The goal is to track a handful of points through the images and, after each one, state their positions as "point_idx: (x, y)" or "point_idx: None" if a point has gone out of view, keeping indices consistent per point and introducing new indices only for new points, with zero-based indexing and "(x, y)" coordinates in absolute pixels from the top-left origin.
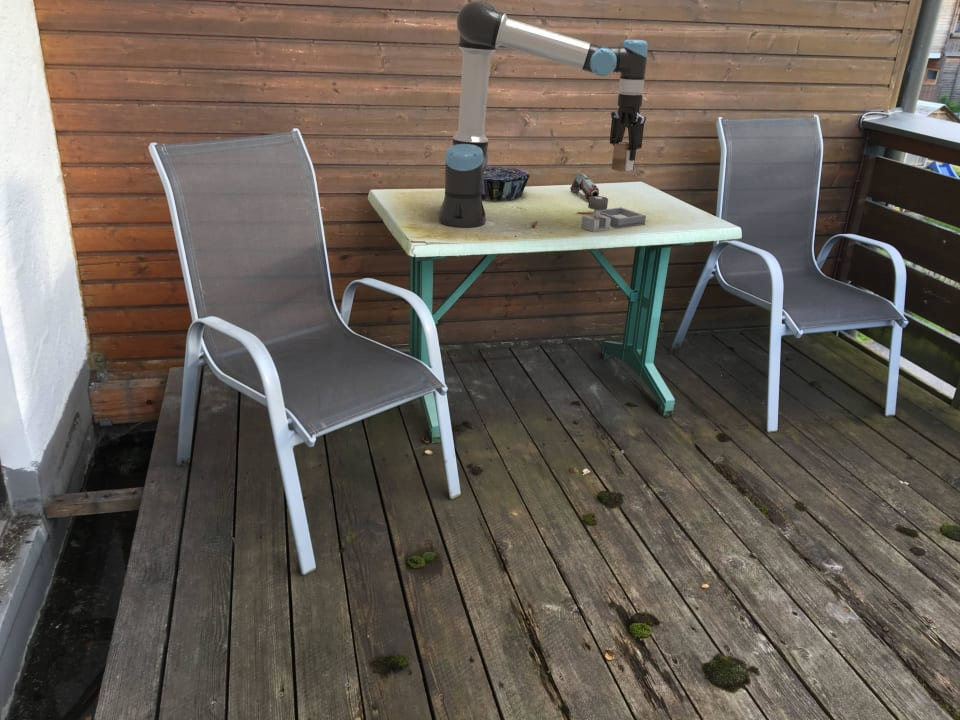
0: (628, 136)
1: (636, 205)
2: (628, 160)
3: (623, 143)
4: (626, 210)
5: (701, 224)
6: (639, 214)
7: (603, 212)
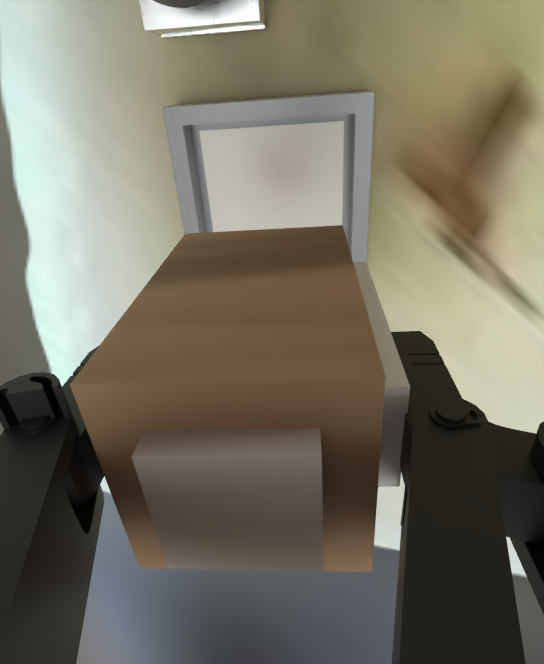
0: (7, 624)
1: None
2: None
3: (181, 452)
4: None
5: None
6: None
7: (353, 153)
